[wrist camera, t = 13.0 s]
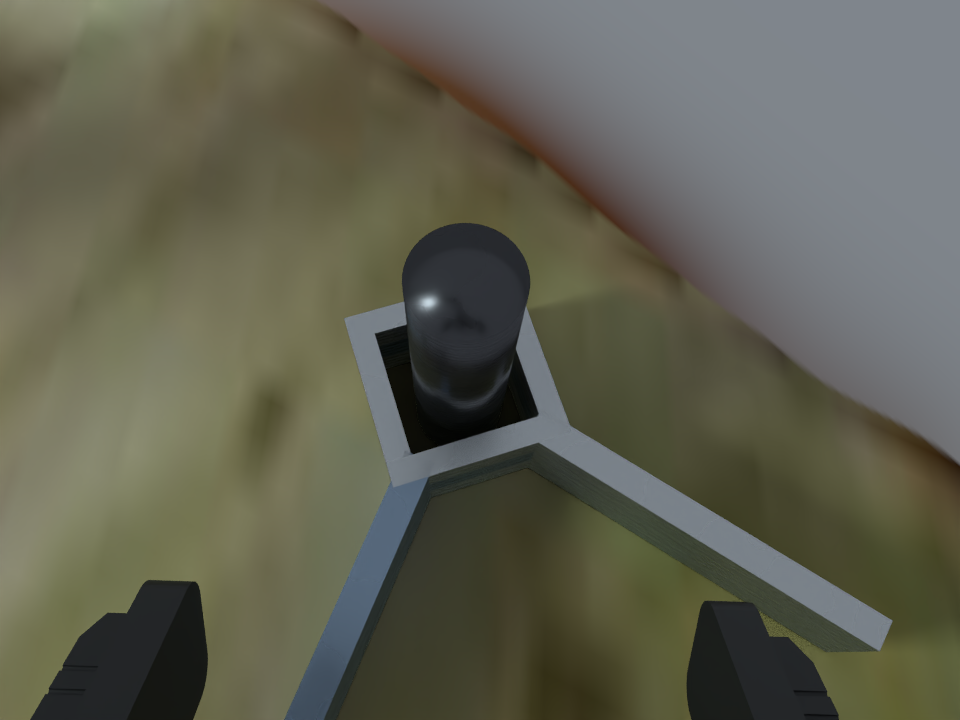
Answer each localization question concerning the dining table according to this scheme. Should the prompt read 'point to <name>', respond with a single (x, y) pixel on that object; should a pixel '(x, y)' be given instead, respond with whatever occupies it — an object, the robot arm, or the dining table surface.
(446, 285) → the pin
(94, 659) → the robot arm
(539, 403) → the grey square forked frame
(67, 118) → the dining table surface
